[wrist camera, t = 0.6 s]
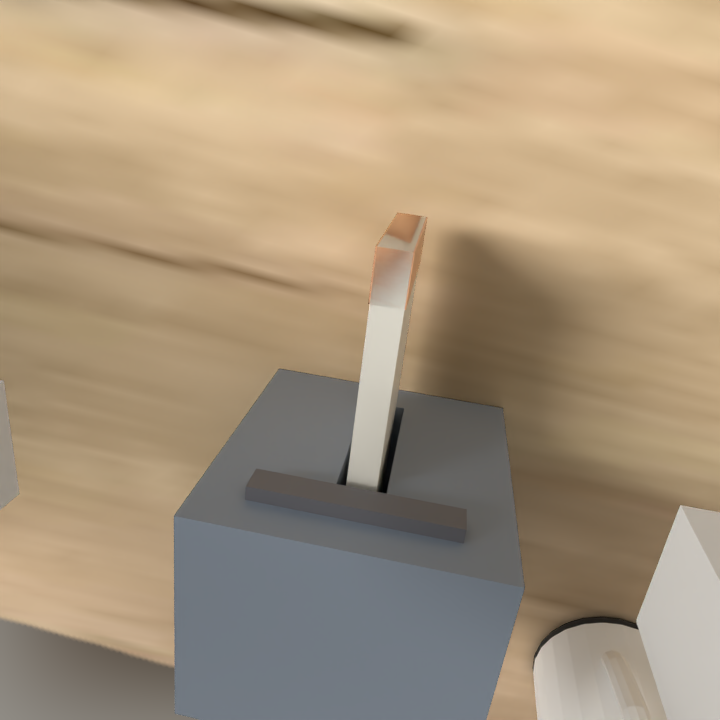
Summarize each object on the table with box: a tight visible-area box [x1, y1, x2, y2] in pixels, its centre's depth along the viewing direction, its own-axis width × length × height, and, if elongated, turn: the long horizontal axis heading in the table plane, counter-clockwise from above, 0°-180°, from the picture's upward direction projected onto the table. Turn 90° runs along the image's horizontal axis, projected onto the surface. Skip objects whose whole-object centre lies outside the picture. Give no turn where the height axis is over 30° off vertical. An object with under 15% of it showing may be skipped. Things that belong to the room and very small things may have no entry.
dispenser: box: [174, 369, 525, 720], centre depth 28 cm, size 12×11×13 cm
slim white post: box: [346, 213, 427, 493], centre depth 27 cm, size 1×18×7 cm, turn 173°
